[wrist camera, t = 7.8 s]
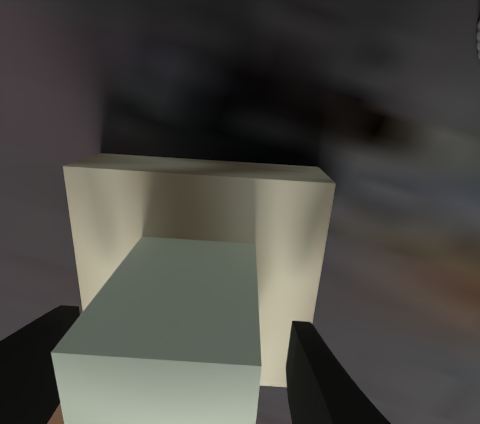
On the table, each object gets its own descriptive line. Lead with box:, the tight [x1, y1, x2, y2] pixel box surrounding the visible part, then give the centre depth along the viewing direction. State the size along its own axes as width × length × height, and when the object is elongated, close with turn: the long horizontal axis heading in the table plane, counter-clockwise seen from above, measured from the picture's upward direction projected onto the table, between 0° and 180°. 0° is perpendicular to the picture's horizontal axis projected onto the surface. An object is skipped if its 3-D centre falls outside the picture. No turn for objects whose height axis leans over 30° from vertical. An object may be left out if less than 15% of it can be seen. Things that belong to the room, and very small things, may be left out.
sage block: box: [51, 237, 262, 424], centre depth 10 cm, size 4×4×6 cm
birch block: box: [63, 153, 336, 387], centre depth 14 cm, size 10×10×3 cm
